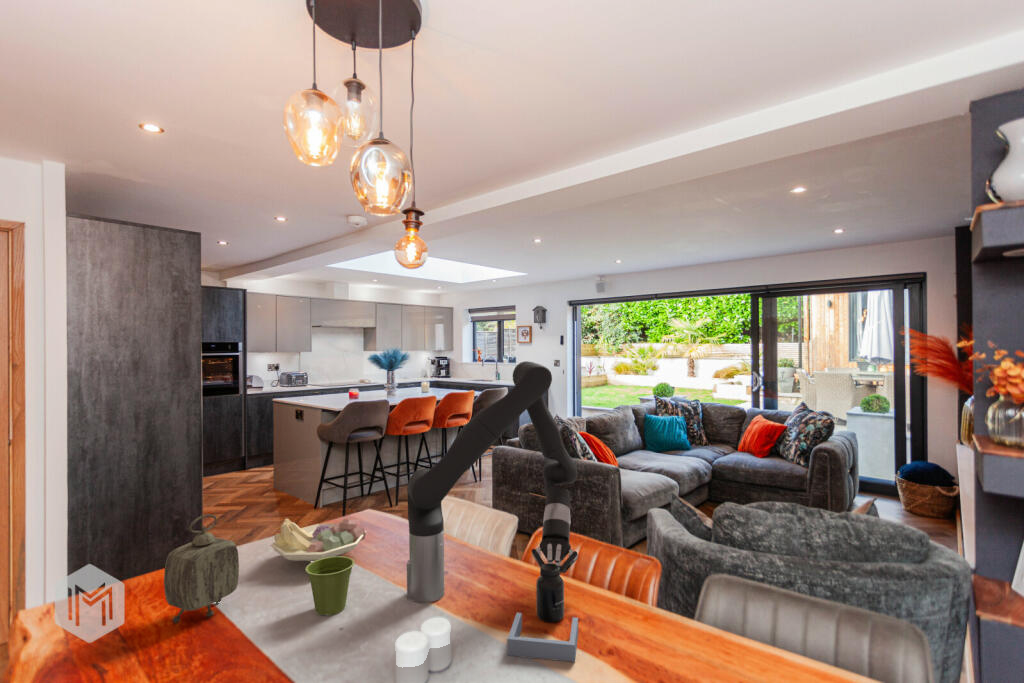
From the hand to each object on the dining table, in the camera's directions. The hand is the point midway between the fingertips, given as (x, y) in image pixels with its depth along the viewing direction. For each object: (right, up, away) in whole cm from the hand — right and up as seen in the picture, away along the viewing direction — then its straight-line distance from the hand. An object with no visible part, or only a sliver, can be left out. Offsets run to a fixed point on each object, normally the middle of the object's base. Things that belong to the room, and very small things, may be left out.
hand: (552, 587), depth 131 cm
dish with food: (-71, -6, +31) cm, 78 cm away
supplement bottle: (-1, -5, -6) cm, 7 cm away
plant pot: (-57, -6, 0) cm, 57 cm away
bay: (-3, -4, -17) cm, 18 cm away
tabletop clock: (-88, -6, -3) cm, 88 cm away
